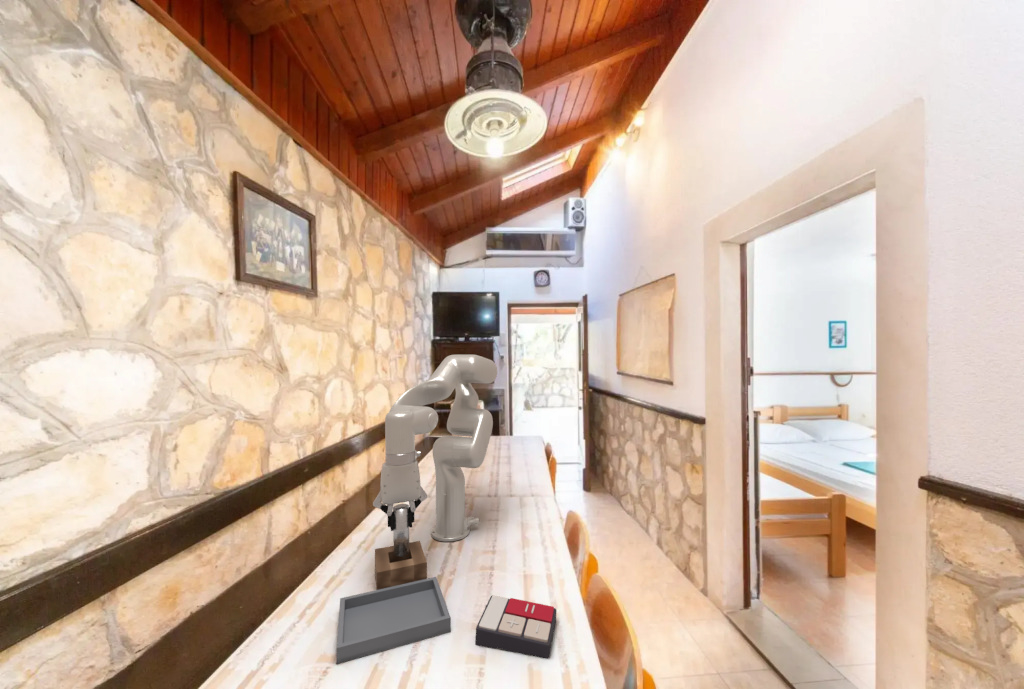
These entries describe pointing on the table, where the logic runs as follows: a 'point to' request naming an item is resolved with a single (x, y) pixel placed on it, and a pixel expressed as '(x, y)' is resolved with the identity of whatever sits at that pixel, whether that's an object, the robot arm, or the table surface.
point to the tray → (390, 618)
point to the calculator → (517, 626)
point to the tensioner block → (399, 566)
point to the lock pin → (401, 530)
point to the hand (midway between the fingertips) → (401, 526)
